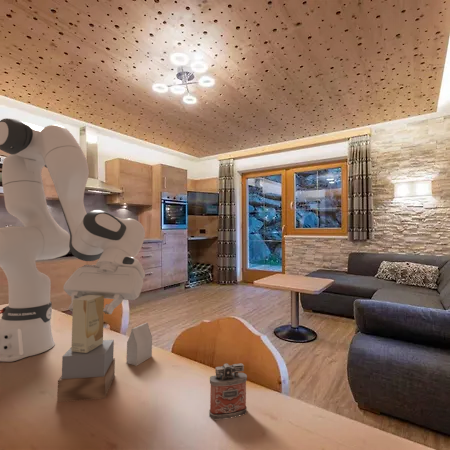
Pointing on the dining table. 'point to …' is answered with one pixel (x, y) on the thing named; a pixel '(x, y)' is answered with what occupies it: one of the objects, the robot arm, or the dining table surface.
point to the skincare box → (87, 323)
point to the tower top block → (88, 362)
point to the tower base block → (85, 386)
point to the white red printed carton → (139, 345)
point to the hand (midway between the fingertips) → (89, 311)
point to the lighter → (228, 392)
